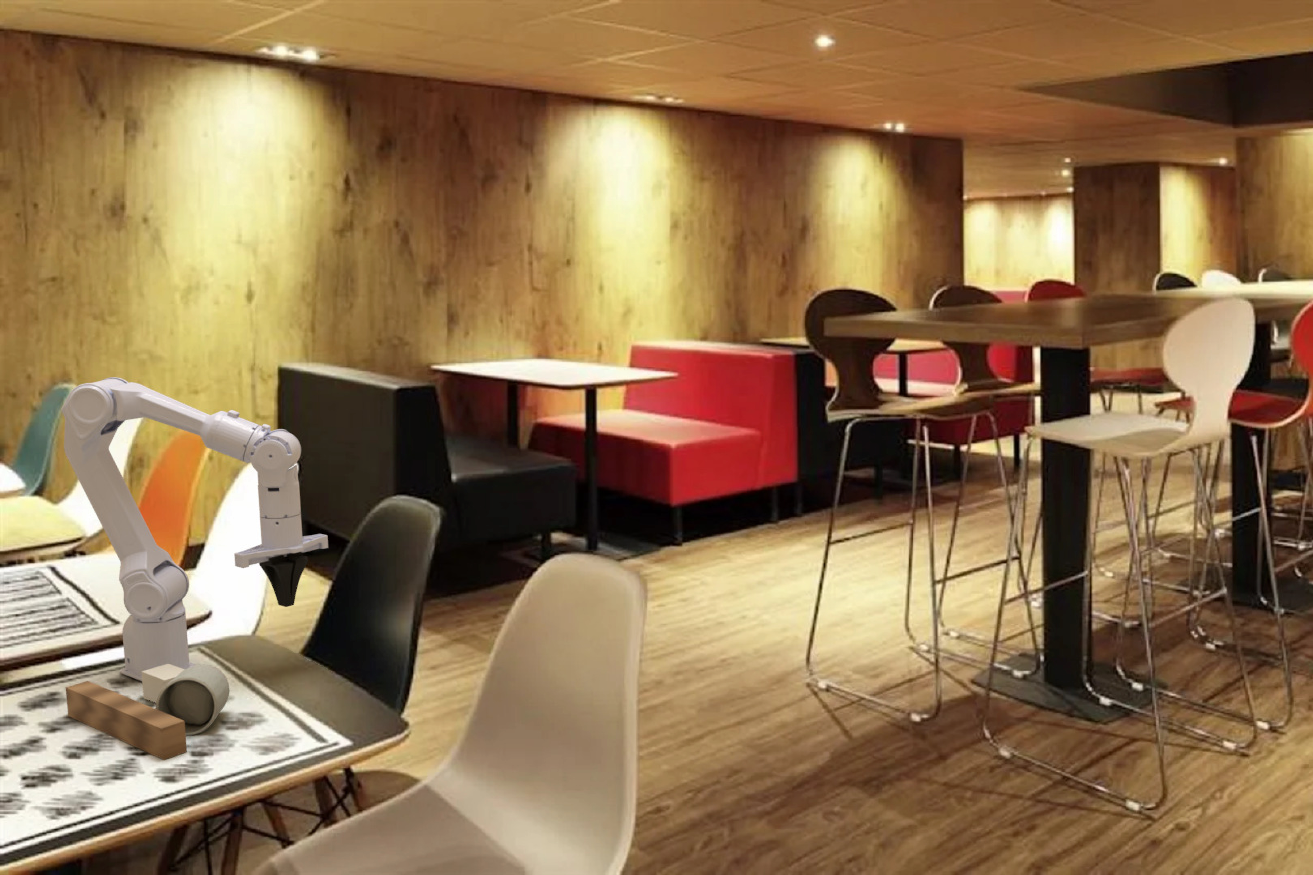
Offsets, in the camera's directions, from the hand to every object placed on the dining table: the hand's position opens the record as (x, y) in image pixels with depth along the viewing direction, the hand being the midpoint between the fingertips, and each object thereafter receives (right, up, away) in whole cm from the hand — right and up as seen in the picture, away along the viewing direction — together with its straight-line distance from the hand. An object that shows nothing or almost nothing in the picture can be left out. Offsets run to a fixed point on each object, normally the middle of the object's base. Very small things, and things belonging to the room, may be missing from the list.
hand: (286, 604), depth 172 cm
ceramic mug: (-7, -13, -19) cm, 24 cm away
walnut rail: (-14, -13, -21) cm, 29 cm away
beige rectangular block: (-13, -12, -9) cm, 20 cm away
